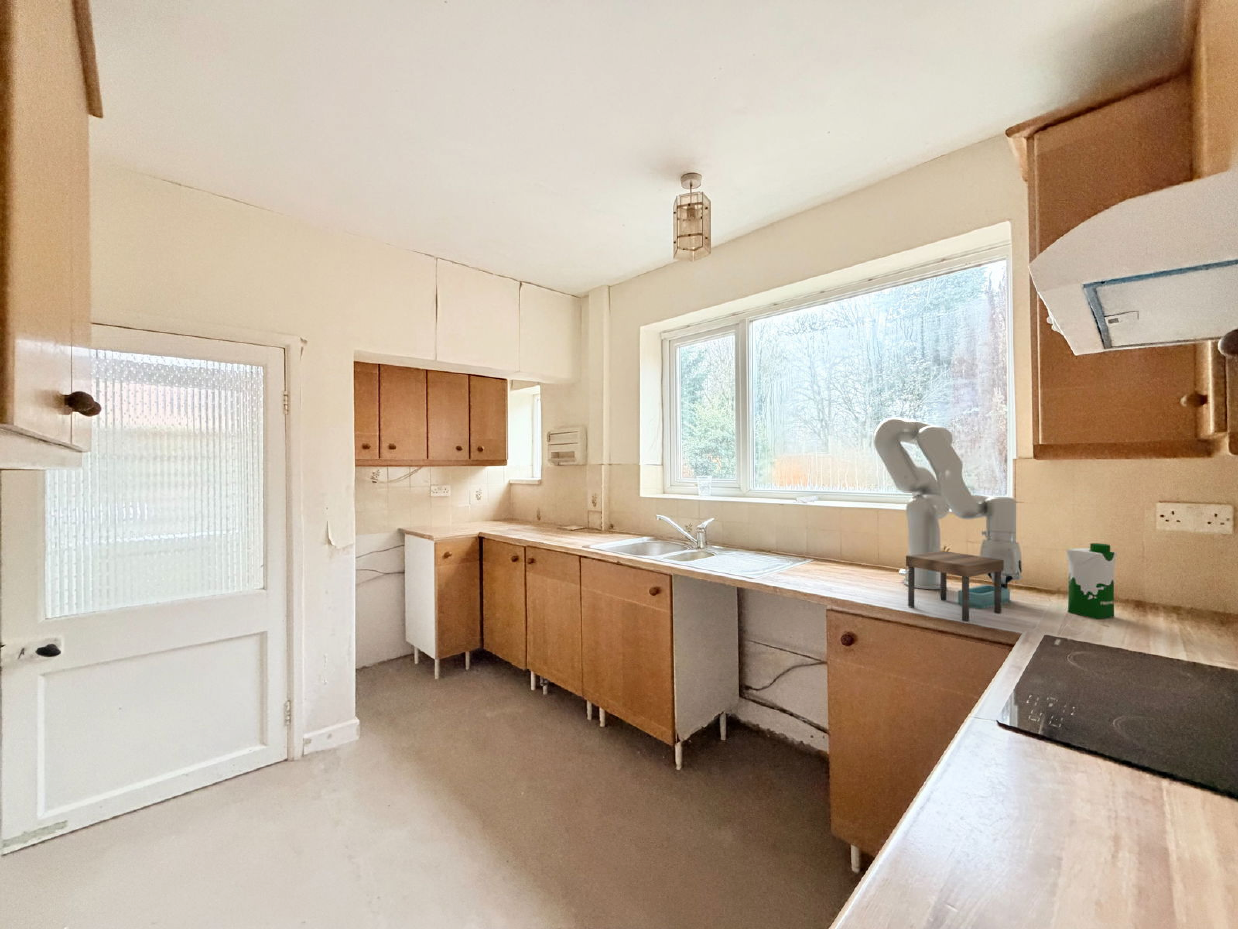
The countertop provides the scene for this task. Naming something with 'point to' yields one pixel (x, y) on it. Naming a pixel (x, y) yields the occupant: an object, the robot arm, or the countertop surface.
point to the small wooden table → (956, 573)
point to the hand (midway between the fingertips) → (1000, 595)
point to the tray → (984, 596)
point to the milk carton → (1091, 581)
